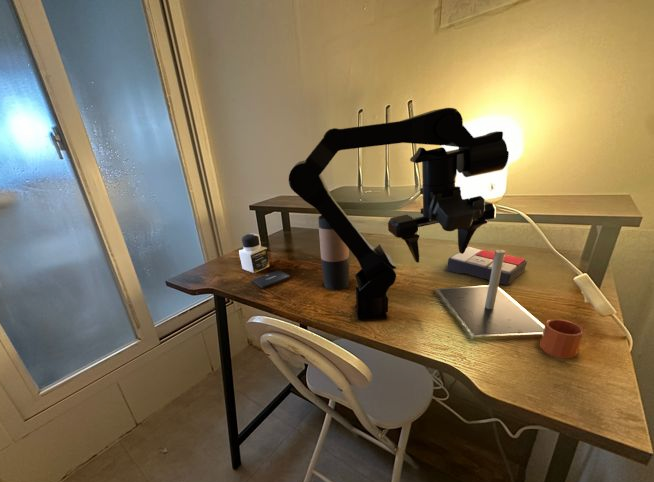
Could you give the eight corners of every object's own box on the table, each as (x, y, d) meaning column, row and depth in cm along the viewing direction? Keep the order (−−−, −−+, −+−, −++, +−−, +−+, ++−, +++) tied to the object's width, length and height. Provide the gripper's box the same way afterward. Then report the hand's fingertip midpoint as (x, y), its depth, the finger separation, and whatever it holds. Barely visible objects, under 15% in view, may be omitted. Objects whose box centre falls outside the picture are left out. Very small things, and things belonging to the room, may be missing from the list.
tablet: (471, 341, 58) (471, 336, 58) (434, 292, 76) (435, 288, 76) (552, 338, 56) (554, 333, 56) (495, 288, 74) (496, 284, 73)
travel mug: (333, 276, 92) (329, 211, 83) (355, 282, 87) (353, 213, 78) (317, 286, 87) (311, 218, 79) (339, 293, 82) (336, 221, 74)
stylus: (490, 310, 65) (501, 253, 59) (483, 306, 66) (493, 251, 60) (495, 307, 65) (507, 251, 59) (488, 304, 66) (499, 249, 61)
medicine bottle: (254, 273, 102) (247, 240, 97) (242, 269, 107) (235, 236, 102) (270, 266, 106) (264, 233, 101) (257, 262, 111) (252, 230, 106)
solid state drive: (252, 281, 96) (252, 279, 96) (278, 271, 100) (278, 269, 100) (262, 288, 91) (262, 286, 90) (290, 277, 95) (290, 275, 94)
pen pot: (551, 360, 51) (559, 336, 49) (532, 342, 56) (539, 319, 54) (583, 359, 51) (592, 335, 49) (562, 341, 55) (569, 318, 53)
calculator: (511, 272, 72) (448, 256, 84) (506, 287, 74) (445, 269, 86) (528, 258, 78) (467, 244, 89) (524, 272, 80) (464, 257, 91)
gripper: (405, 200, 51) (409, 282, 57) (521, 175, 49) (512, 262, 56) (384, 191, 61) (389, 261, 67) (479, 169, 59) (476, 243, 66)
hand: (439, 257), depth 64 cm, fingers open, 9 cm apart
